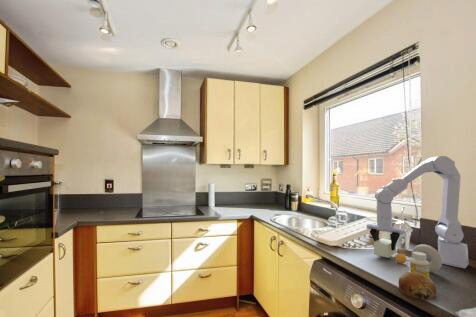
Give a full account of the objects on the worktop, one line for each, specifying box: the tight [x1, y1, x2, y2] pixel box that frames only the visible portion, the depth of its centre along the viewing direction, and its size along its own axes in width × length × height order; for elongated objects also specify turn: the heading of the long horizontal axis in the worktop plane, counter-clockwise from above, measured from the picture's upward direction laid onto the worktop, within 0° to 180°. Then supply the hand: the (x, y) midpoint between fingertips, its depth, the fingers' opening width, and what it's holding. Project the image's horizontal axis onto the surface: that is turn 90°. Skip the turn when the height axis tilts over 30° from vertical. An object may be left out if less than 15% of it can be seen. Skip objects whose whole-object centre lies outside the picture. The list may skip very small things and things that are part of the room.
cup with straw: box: [392, 206, 414, 250], centre depth 124 cm, size 8×9×20 cm
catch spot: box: [405, 255, 412, 262], centre depth 112 cm, size 6×6×1 cm
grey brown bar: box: [396, 247, 428, 260], centre depth 116 cm, size 11×1×2 cm, turn 41°
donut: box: [410, 243, 443, 273], centre depth 99 cm, size 10×3×10 cm, turn 32°
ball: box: [394, 253, 407, 265], centre depth 107 cm, size 4×4×4 cm
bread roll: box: [398, 271, 437, 301], centre depth 82 cm, size 10×10×8 cm
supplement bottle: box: [409, 252, 430, 278], centre depth 90 cm, size 5×5×10 cm
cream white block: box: [373, 237, 397, 259], centre depth 114 cm, size 9×6×5 cm, turn 131°
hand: (385, 248), depth 114 cm, fingers closed on cream white block, 6 cm apart
